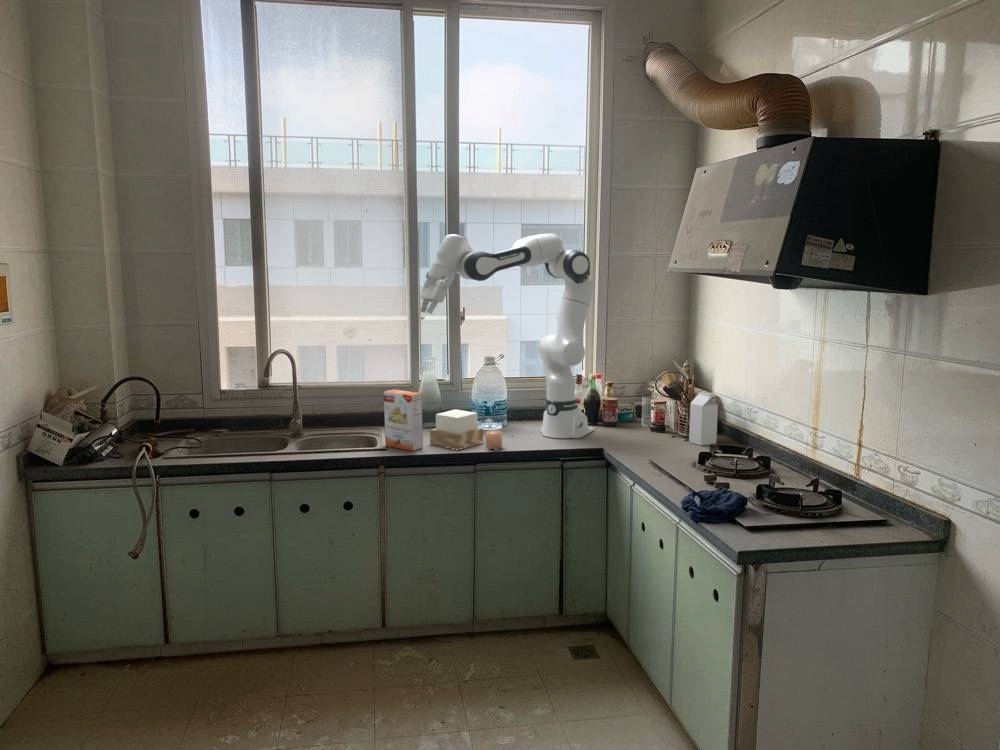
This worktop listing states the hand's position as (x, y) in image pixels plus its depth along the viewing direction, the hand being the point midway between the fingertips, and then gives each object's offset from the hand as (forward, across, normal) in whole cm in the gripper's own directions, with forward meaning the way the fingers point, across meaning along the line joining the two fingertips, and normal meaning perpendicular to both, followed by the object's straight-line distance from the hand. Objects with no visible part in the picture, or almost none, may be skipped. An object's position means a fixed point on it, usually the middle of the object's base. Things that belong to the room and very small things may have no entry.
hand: (425, 312), depth 262 cm
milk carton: (+5, -26, -111) cm, 114 cm away
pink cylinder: (+36, -5, -42) cm, 55 cm away
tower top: (+35, +6, -30) cm, 46 cm away
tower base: (+40, +6, -32) cm, 52 cm away
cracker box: (+49, +8, -14) cm, 51 cm away
